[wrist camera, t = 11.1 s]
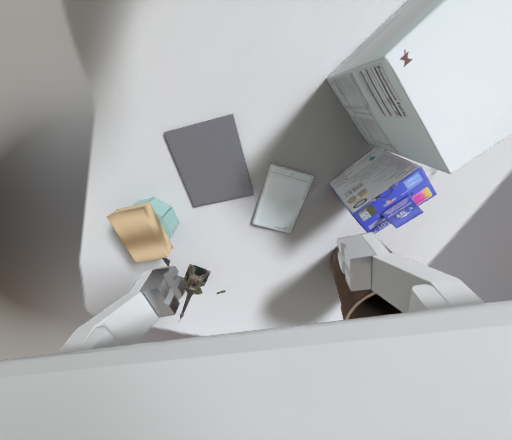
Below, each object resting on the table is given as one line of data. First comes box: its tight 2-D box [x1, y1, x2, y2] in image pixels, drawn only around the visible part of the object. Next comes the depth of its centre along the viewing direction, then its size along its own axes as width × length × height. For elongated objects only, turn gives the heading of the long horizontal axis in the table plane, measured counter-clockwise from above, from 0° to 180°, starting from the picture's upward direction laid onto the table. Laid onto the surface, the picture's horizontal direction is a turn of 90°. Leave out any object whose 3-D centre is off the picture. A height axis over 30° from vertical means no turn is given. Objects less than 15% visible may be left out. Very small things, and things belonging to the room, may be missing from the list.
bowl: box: [133, 198, 179, 239], centre depth 43 cm, size 9×9×4 cm
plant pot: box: [331, 242, 403, 320], centre depth 41 cm, size 16×16×16 cm
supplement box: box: [327, 0, 512, 174], centre depth 24 cm, size 17×13×18 cm
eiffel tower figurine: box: [162, 258, 225, 322], centre depth 47 cm, size 15×10×13 cm
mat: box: [164, 114, 253, 207], centre depth 39 cm, size 14×12×1 cm
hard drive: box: [252, 163, 314, 233], centre depth 42 cm, size 2×8×12 cm
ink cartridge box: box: [329, 147, 436, 234], centre depth 33 cm, size 10×6×14 cm, turn 134°
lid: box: [107, 202, 173, 263], centre depth 40 cm, size 10×6×3 cm, turn 14°
